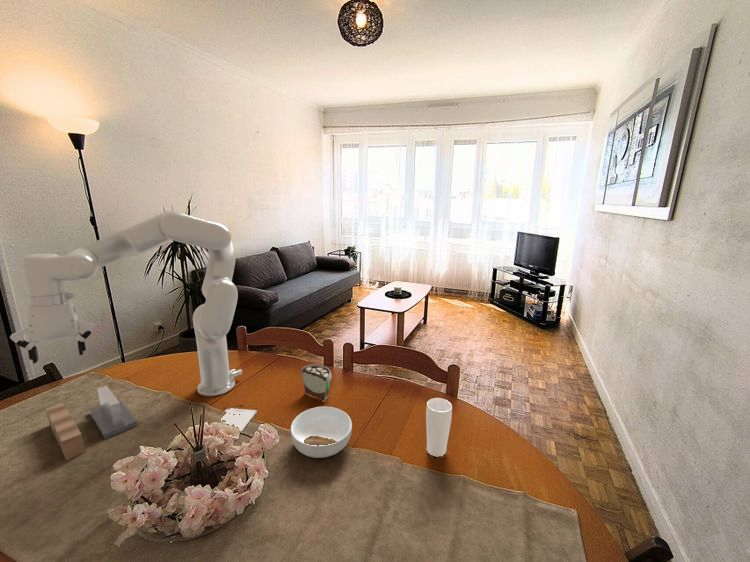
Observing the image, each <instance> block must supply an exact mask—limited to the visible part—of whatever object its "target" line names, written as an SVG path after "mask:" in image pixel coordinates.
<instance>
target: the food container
mask: <svg viewBox="0 0 750 562" xmlns="http://www.w3.org/2000/svg"><path fill="white" fill-rule="evenodd" d="M300 373H301V374H302V382H303V391H304V394H305V393H307V394H310V395H312V396H315V397H317V398H319V399H321V400H324V401H326V400H327V398H328V399H329V393H330V382H331V380H332V378H333V376H332V372H331V369H330V368H329V367H328V366H326V365H323V364H308V365H305V366H303V367H301V369H300ZM327 401H328V400H327ZM327 401H326V402H327Z"/></svg>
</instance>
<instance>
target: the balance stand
mask: <svg viewBox="0 0 750 562" xmlns="http://www.w3.org/2000/svg"><path fill="white" fill-rule="evenodd" d="M96 390H97V394H98V399H99V404H100V405H98V406H95V407H93V408H92V407H91V408H89V409H88V412H89V413H90V414H89V413H88V414H89V415H90V417H91V419H92V418H93V419H92V420H93V422H94V421H95V422H94V424H95V425H96V427H97V428H98V430H99V432H100V433H101V435H102V436H103V438H104V439H105V440H107V439H109V438H111V437H114V436H115V434H116V435H119V434H121V433H123V432H125V430H126V431H128V430H130V429H133V428H134V426H135V427H137V426H138V422H137V420H136V419H135V417H134V416H133V415H132V413H131V412H130V411H129V410H128V408H127V407H126V406H125V405H124V403H123V402H122V401H121V400H120V398H117V397H116V395H115V394H114V393H113V392H112V391H111V389H110V388H109V387H108V386H107V385H104V386H101V387H98V388H97V389H96ZM132 427H133V428H132ZM127 429H128V430H127ZM120 432H121V433H120ZM118 433H119V434H118ZM113 435H114V436H113ZM106 438H107V439H106Z"/></svg>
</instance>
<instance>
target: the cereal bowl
mask: <svg viewBox="0 0 750 562" xmlns="http://www.w3.org/2000/svg"><path fill="white" fill-rule="evenodd" d="M352 430H353V422H352V419H351V417H350V416H349V415H348V414H347V412H345V411H343V410H342V409H340V408H336V407H334V406H333V407H332V406H316V407H313V408H308V409H306V410H305V411H302V412H301V413H299V414H298V415H297V416H296V417H295V418H294V419H293V421H292V422H291V426H290V434H291V435H290V437H291V440H292V444H293V445H294V447H295V448H296V450H298V452H300V453H301V454H302V455H305V456H307V457H310V458H315V459H319V458H320V459H322V458H329V457H331V456H334V455H336V454H338V453H339V452H341V451H342V450H343V449H345V447H346V446H347V444H348V443H349V441H350V439H351V435H352ZM310 436H319V437H323V438H328V439H333V440H335V441H337V442H335V443H332V444H328V445H319V446H317V445H309V444H305V443H304V440H305V439H306V438H308V437H310Z"/></svg>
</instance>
